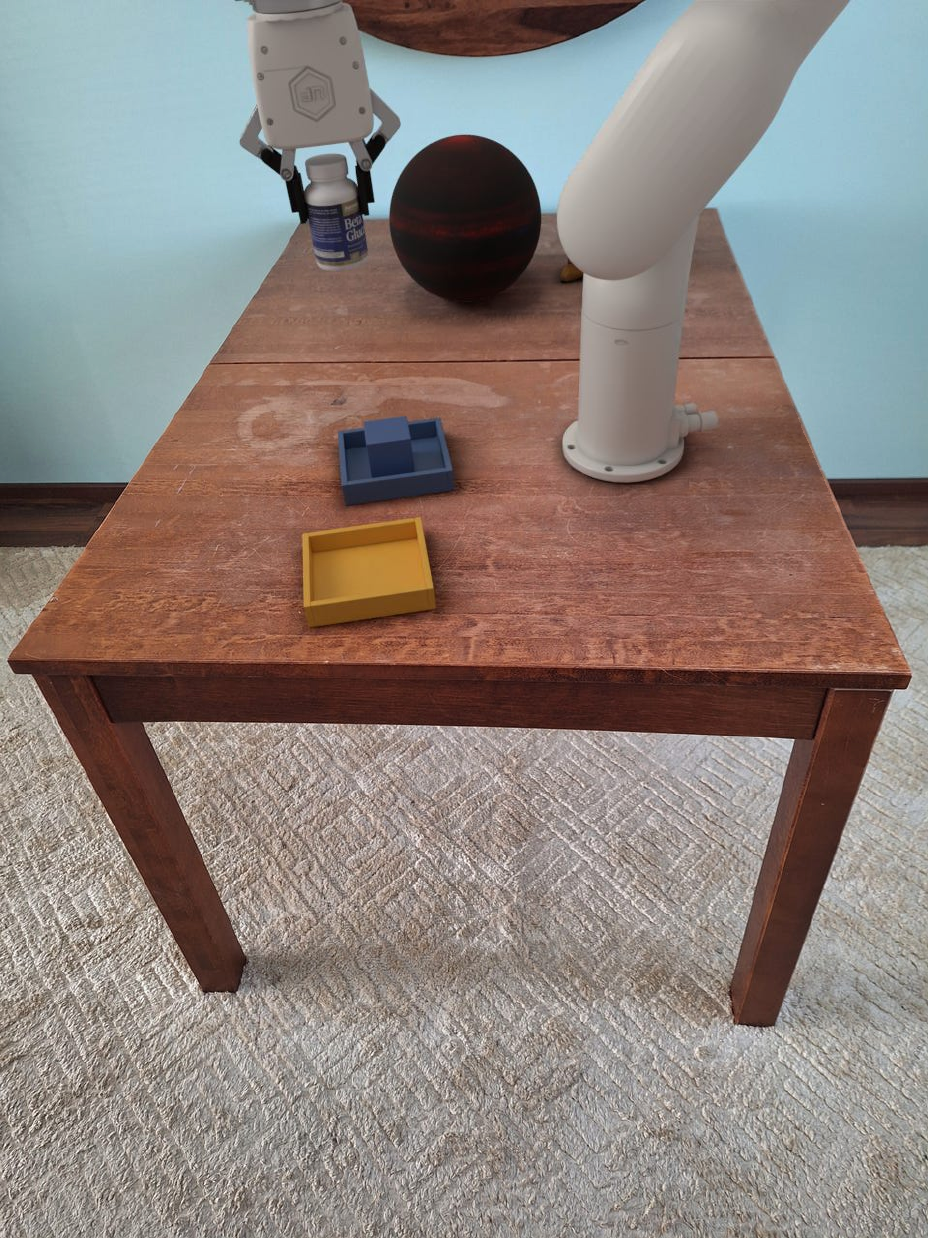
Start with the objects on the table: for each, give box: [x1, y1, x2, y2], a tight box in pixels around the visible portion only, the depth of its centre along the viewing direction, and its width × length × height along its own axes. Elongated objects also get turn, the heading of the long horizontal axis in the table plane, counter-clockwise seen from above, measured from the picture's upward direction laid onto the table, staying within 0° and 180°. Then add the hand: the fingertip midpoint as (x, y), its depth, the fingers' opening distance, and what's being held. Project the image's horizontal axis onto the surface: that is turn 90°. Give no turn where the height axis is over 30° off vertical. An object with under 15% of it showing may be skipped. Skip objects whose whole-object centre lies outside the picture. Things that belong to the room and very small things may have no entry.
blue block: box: [363, 415, 415, 478], centre depth 90 cm, size 4×4×4 cm
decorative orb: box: [388, 134, 542, 303], centre depth 114 cm, size 20×20×20 cm
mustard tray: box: [301, 516, 437, 628], centre depth 78 cm, size 11×10×2 cm
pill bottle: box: [304, 153, 369, 272], centre depth 85 cm, size 5×5×10 cm
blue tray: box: [337, 417, 456, 506], centre depth 91 cm, size 11×10×2 cm
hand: (334, 212), depth 85 cm, fingers closed on pill bottle, 5 cm apart
